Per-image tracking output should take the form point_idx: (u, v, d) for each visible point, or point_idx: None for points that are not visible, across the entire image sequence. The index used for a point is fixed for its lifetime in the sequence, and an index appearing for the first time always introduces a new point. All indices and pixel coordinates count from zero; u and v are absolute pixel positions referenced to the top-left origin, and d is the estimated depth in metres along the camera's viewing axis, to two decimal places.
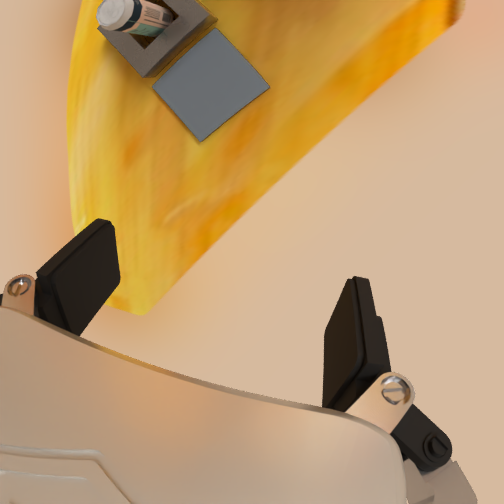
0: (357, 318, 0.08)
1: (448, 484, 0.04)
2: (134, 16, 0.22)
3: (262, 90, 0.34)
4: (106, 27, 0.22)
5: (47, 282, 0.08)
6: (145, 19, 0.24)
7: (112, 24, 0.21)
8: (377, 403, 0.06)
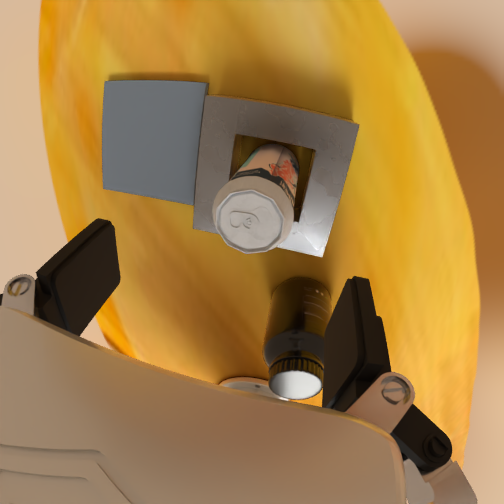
0: (357, 318, 0.08)
1: (448, 484, 0.04)
2: None
3: (104, 180, 0.29)
4: (238, 186, 0.16)
5: (47, 282, 0.08)
6: None
7: (222, 201, 0.16)
8: (377, 403, 0.06)
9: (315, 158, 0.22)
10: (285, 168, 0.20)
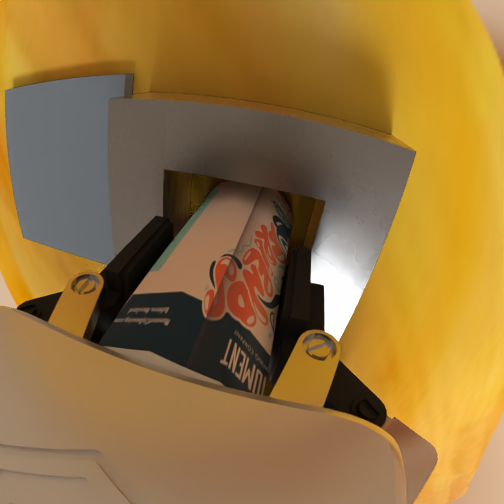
0: (291, 281, 0.09)
1: None
2: None
3: (21, 227, 0.18)
4: None
5: (118, 279, 0.08)
6: None
7: None
8: (306, 364, 0.07)
9: (323, 218, 0.11)
10: (254, 263, 0.09)
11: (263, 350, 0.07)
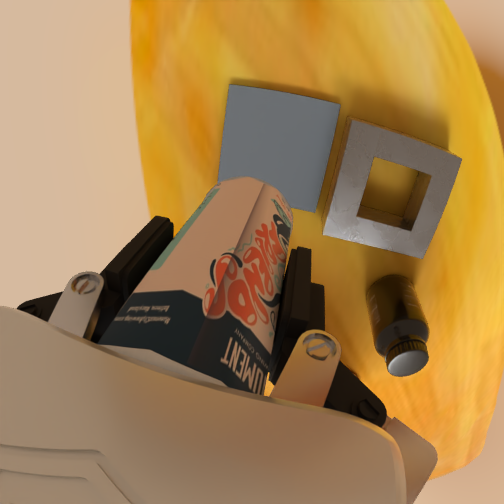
0: (291, 281, 0.09)
1: (395, 442, 0.06)
2: None
3: None
4: None
5: (118, 279, 0.08)
6: None
7: None
8: (306, 363, 0.07)
9: (430, 182, 0.25)
10: (255, 262, 0.09)
11: (263, 349, 0.07)
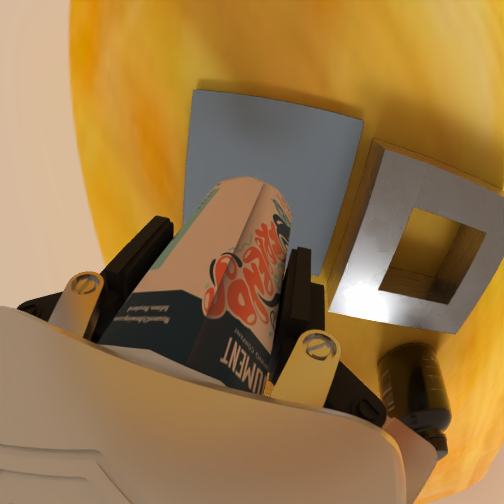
0: (291, 281, 0.09)
1: None
2: None
3: None
4: None
5: (118, 279, 0.08)
6: None
7: None
8: (305, 363, 0.07)
9: (483, 242, 0.16)
10: (254, 262, 0.09)
11: (263, 349, 0.07)
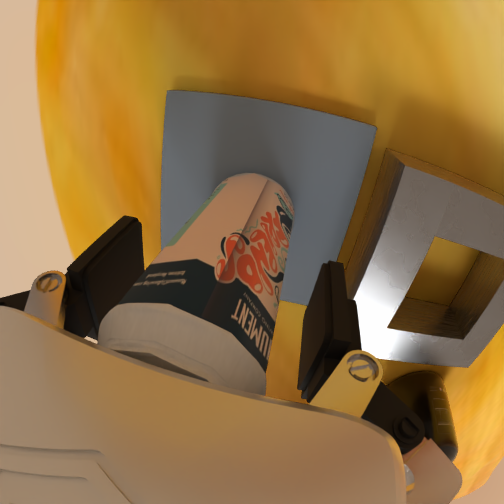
0: (328, 298, 0.09)
1: (426, 463, 0.05)
2: None
3: None
4: (126, 330, 0.06)
5: (79, 278, 0.08)
6: None
7: None
8: (346, 382, 0.07)
9: None
10: (260, 241, 0.10)
11: (269, 316, 0.08)
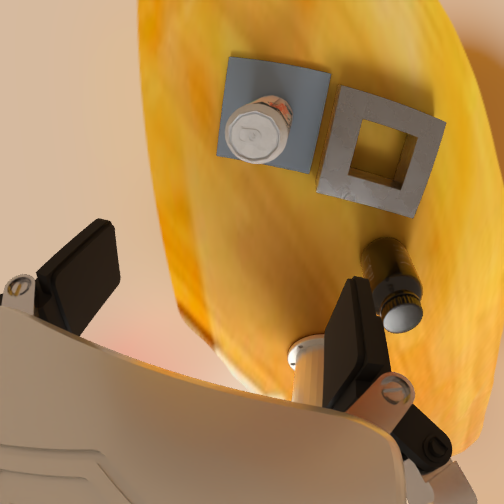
0: (357, 318, 0.08)
1: (448, 484, 0.04)
2: None
3: (218, 148, 0.33)
4: (245, 110, 0.20)
5: (47, 282, 0.08)
6: None
7: (233, 121, 0.20)
8: (377, 403, 0.06)
9: (417, 143, 0.26)
10: (280, 106, 0.24)
11: (286, 121, 0.22)
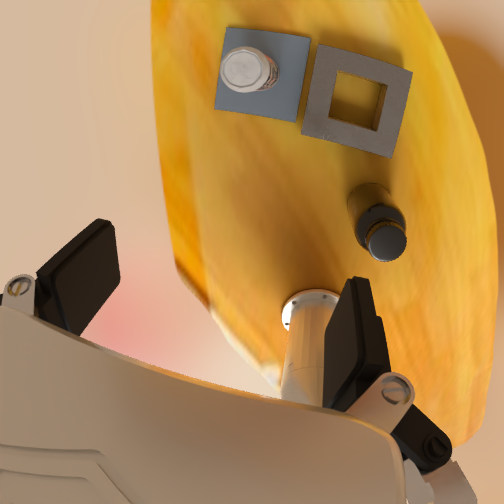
0: (357, 318, 0.08)
1: (448, 484, 0.04)
2: None
3: (216, 102, 0.37)
4: (236, 50, 0.23)
5: (47, 282, 0.08)
6: None
7: (226, 58, 0.23)
8: (377, 403, 0.06)
9: (387, 90, 0.29)
10: (266, 55, 0.27)
11: (269, 62, 0.25)
